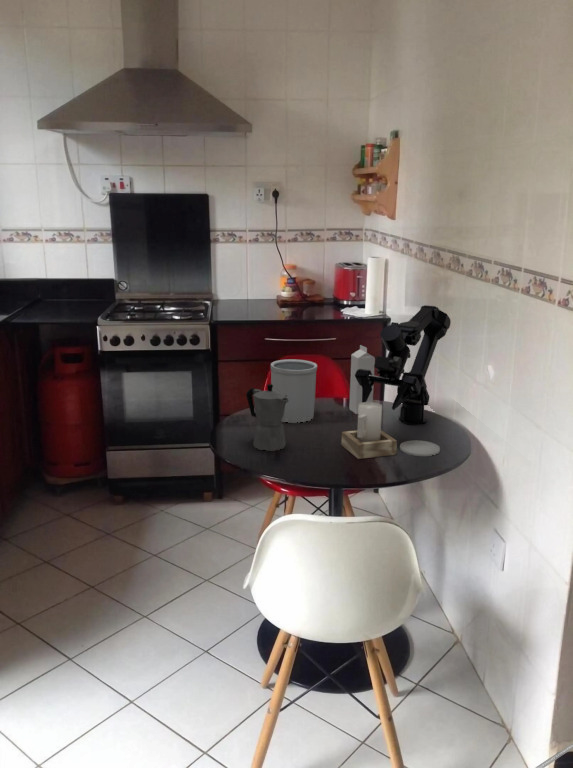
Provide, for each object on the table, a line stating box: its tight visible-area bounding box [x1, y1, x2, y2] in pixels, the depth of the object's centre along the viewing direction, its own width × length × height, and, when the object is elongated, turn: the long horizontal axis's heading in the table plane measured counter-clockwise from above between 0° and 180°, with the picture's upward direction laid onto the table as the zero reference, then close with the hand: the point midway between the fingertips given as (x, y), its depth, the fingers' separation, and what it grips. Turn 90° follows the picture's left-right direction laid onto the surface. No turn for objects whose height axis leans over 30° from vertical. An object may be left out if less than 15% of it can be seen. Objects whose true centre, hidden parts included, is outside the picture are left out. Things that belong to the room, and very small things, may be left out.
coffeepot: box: [245, 383, 289, 452], centre depth 188 cm, size 15×9×18 cm, turn 49°
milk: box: [348, 344, 376, 415], centre depth 221 cm, size 6×6×22 cm
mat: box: [399, 439, 441, 457], centre depth 188 cm, size 11×11×1 cm
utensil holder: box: [270, 358, 318, 424], centre depth 214 cm, size 15×15×18 cm
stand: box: [340, 429, 398, 460], centre depth 187 cm, size 11×11×4 cm
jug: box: [356, 401, 383, 442], centre depth 184 cm, size 9×6×13 cm
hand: (377, 406), depth 188 cm, fingers open, 9 cm apart
